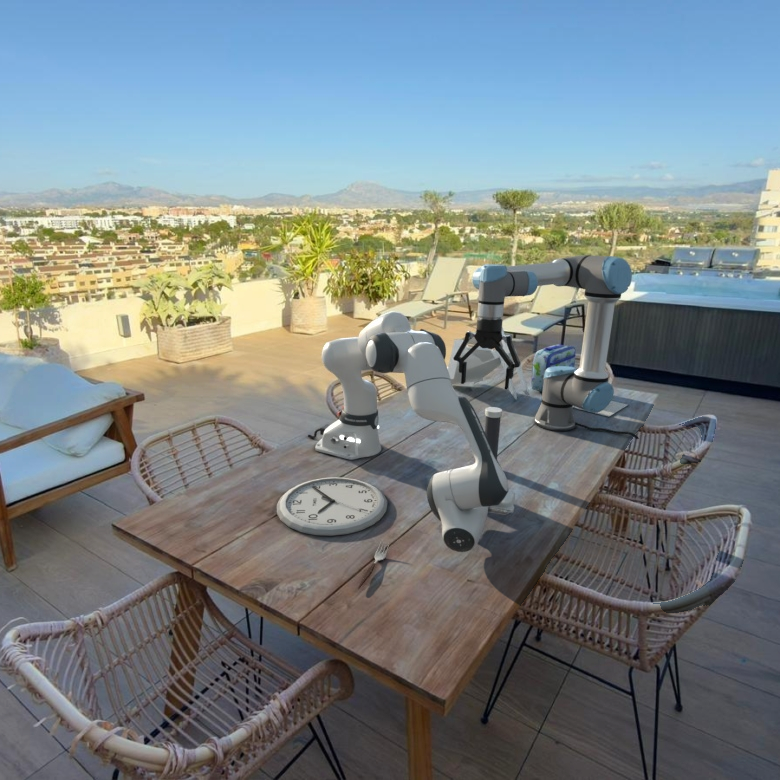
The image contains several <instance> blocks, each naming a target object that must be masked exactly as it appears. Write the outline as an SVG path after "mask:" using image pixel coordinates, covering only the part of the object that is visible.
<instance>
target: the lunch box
mask: <svg viewBox="0 0 780 780" xmlns="http://www.w3.org/2000/svg"><path fill="white" fill-rule="evenodd" d="M576 357H577V355H576V347H575V346H569V345H565V344H554V345H550V346H547V347H544V348H542V349H541V348H540V349H539V350H537V351H536V352H535V353H534V356H533V360H532V367H531V368H532V369H531V382H530V383H531V386H530V387H531V389H532V390H533V391H537V392H542V390H543V380H544V379H543V378H544V374H545V370H546V369H547V368H549V367H555V366H569V367H575V364H576Z"/></svg>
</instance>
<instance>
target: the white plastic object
mask: <svg viewBox="0 0 780 780" xmlns="http://www.w3.org/2000/svg"><path fill="white" fill-rule="evenodd" d="M502 336H506V334H505V331H504V328H503V326H502ZM463 341H464V339H463V338H460V339H458V338H454V340H453V344H452V349H451V353H450V357H449V362H448V366H447V368H448V372H449V375H450V379H451V383H452V385H458V384H461V376H462V373H459V362H458V361H456V360H454V359H453V358H454V356H455V355H456V353H457V351H458V349H459V348H460V346H461V344H462V343H463ZM500 342H501V346H502V348H503V349H504V351H505V352H506V354H507V355H508V356H509V358H510V359H511V360H513V359H512V356H511V354H510V351H509V349H508V346H507V343H505V342H504V340H501V341H500ZM472 347H473V346H469V345H468V344H467V345H466V347H465V349H464V350H463V352H462V354H461V355H460V357H461V358H462V357H463V356H464V355H465V354H466V353H467V352H468V351H469V350H470V349H471V348H472ZM515 351H516V353H517V356H518V357H519V355H518V352H517V349H516V348H515ZM464 362H467V366H466V380H465V383H464V384H467V383H468V384H469V383H473V384H477V383H480V382H482V381H484V378H485V377H486V376H487V375H489V374H490V373H492V372H494V371H495V370H496V369H497V368H499V367H500V366H502V370H503V373H504V376H505V378H506V369H507V367H508V365H507V364H506V362H505V361H504V360H503V358H502V357H501V356H500V354H499V353H498V351H496V349H488V348H482V347H480V346H479V347H478V348H477V349H476V350H475V351H474V352H473V353H472V354H471V355H470V356H469V357H468V358H467V359H466V360H465V361H464ZM522 368H523V367H522V366H521V364H520V366H519V367H516V368H515V369H516V372H517V376H518V380H519V382H520V385H521V389H522V391H523V393H524V395H525V396H526V397H528V396H531V395H530V390H529V388H528V387H529V386H528V384H527V381H526V378H525V375H524V371H523V369H522ZM508 390H509V393H510V394H511V395H512V397H513V398H514V399H515V400H517V392H516V391H517V390H516V388H515V385H514V381H513V378H512V379H509V387H508Z"/></svg>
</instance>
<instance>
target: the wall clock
mask: <svg viewBox="0 0 780 780" xmlns="http://www.w3.org/2000/svg"><path fill="white" fill-rule="evenodd" d="M387 509H388V500H387V498H386V496H385V494H384V493H383V492H382V491H381V490H380V489H379V488H377V487H376V486H374V485H372V484H371V483H369V482H365V481H362V480H359V479H355V478H349V477H338V476H337V477H335V476H333V477H332V476H331V477H322V478H317V479H312V480H307V481H305V482H302V483H299V484H297V485H295V486H293V487H292V488H290V489H288V490H287V491H286V492H285V493H284V494H283V495H281V496H280V498H279V499H278V502H277V503H276V515H277V517H278V518H279V520H280V521H281V522H282V523H283V524H285V525H286V526H287V527H288V528H290V529H293V530H295V531H297V532H299V533H303V534H308V535H312V536H327V537H328V536H329V537H331V536H332V537H333V536H342V535H350V534H352V533H356V532H361V531H363V530H366V529H368V528H369V527H372V526H373V525H375V524H376V523H378V522H379V521H380V520H381V519H382V518H383V517H384V516H385V514H386V512H387Z"/></svg>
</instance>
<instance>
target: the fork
mask: <svg viewBox="0 0 780 780" xmlns="http://www.w3.org/2000/svg"><path fill="white" fill-rule="evenodd" d="M381 543H382V545H381ZM384 543H385V545H384ZM390 543H391V542H388V543H387V542H385V541H383V542H382V541H380V542H379V545H378V547H377V550H376V551H375V554H374V562H373V563H372V564H371V565H370V566H369V567H368V568H367V569H366V571H365V573H364V575H363V577H362V579H361V581H360V583H359V585H358V588H357V589H360V588H362V586H363V585H364V584H365V582H366V581H367V580H368V578H369V577H370V576H371V575H372V573H373V571H374V570H375V567H376V565H377V562H379V561H384V560H385V559H386V557H387V554H388V551H389V547H390ZM387 544H388V545H387ZM380 547H381V548H380ZM383 547H384V548H383Z"/></svg>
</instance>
